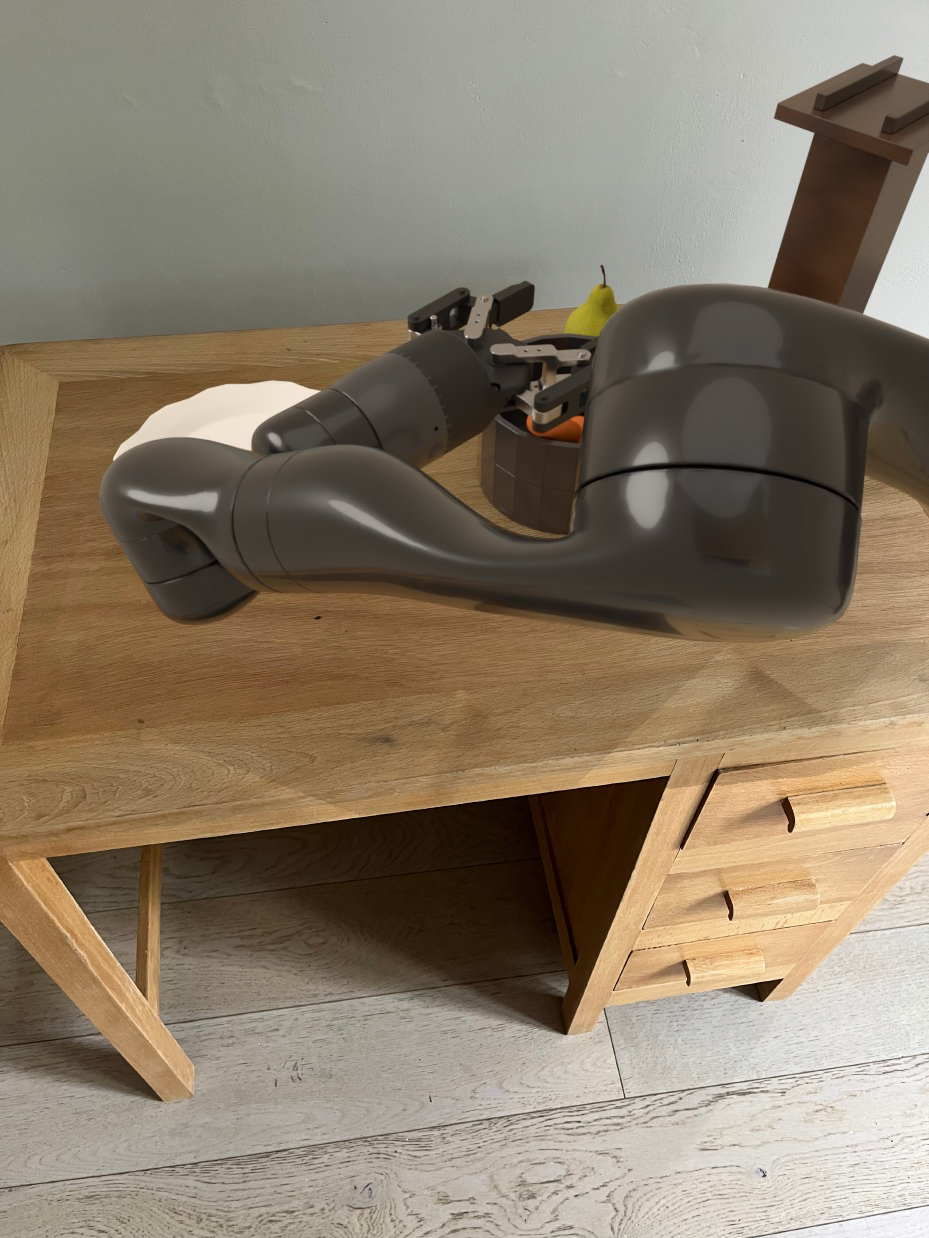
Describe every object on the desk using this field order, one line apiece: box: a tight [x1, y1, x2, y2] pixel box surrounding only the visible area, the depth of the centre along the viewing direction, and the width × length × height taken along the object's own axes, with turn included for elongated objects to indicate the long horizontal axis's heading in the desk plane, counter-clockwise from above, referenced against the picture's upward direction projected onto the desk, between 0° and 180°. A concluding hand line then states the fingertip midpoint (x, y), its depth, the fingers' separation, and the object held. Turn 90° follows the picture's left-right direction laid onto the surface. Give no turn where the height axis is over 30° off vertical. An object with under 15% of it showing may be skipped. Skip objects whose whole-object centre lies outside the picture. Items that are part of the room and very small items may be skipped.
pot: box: [476, 333, 596, 535], centre depth 78 cm, size 16×16×10 cm
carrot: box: [527, 415, 584, 444], centre depth 76 cm, size 4×16×4 cm
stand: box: [767, 54, 929, 314], centre depth 70 cm, size 11×11×33 cm
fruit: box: [563, 264, 622, 337], centre depth 89 cm, size 7×7×12 cm
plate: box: [112, 380, 321, 462], centre depth 81 cm, size 25×25×2 cm
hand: (572, 317), depth 63 cm, fingers open, 8 cm apart
